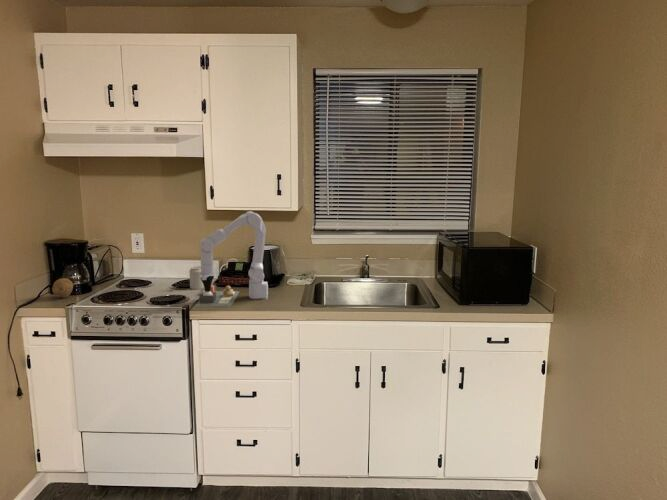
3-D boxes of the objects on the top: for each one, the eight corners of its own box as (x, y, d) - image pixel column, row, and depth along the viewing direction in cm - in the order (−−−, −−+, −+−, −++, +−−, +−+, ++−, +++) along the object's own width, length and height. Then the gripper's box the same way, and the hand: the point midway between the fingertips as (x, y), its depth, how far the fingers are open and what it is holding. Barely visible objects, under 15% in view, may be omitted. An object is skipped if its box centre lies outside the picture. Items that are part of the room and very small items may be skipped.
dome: (214, 299, 230) (214, 289, 229) (212, 302, 225) (211, 292, 224) (204, 299, 230) (203, 289, 229) (201, 302, 225) (201, 292, 224)
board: (239, 293, 246) (239, 284, 245) (231, 307, 221) (230, 298, 220) (207, 292, 245) (206, 284, 245) (194, 307, 220) (194, 298, 219)
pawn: (233, 294, 240) (233, 284, 239) (232, 297, 235) (232, 286, 234) (224, 294, 240) (223, 284, 239) (222, 297, 235) (222, 286, 234)
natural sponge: (60, 301, 226) (59, 281, 224) (48, 299, 229) (46, 279, 228) (77, 296, 234) (76, 277, 232) (66, 294, 237) (64, 275, 236)
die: (214, 292, 242) (214, 284, 242) (212, 294, 239) (212, 286, 238) (206, 292, 242) (206, 284, 241) (204, 294, 238) (204, 286, 238)
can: (190, 291, 248) (190, 269, 246) (189, 287, 255) (188, 266, 253) (205, 290, 251) (204, 268, 249) (203, 286, 258) (202, 265, 256)
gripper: (202, 260, 231) (202, 287, 234) (194, 266, 217) (195, 295, 219) (216, 260, 232) (217, 287, 234) (210, 267, 217) (210, 295, 220)
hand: (207, 291), depth 227 cm, fingers closed, pressing on dome
